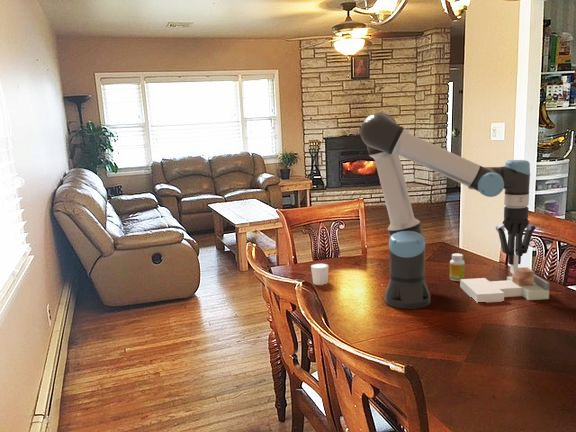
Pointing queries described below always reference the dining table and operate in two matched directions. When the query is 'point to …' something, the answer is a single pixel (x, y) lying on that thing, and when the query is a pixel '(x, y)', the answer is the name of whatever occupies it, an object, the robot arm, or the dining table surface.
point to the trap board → (504, 289)
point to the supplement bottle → (457, 267)
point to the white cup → (320, 273)
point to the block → (524, 277)
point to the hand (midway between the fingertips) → (514, 273)
